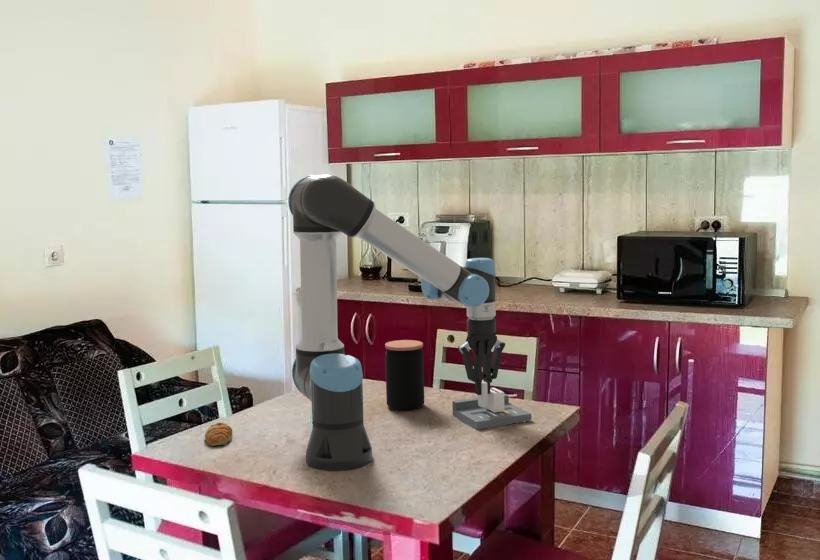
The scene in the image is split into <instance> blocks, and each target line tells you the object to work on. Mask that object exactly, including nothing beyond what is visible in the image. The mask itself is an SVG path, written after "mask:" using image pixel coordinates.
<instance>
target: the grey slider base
mask: <svg viewBox="0 0 820 560" xmlns="http://www.w3.org/2000/svg"><path fill="white" fill-rule="evenodd" d="M509 397H510V396H509V395H508V394H506V393H504V411H501V412H493V411H491V410H489V409H487V408H482V407H480V406H478V397H474V398H473V397H472V398H465V399H456V400H452V416H453V417H454V418H456V419H458V420H459V421H461V422H463V423H464V424H466V425H468V426H470V427H471V428H473V429H475V430H476V431H477V430H482V429H483V430H484V429H489V428H496V427H502V425H503V426H507V425H506V424H510V425H512V424H511V423H516V424H520V423H519V422H523V423H525V422H524V421H529V422H531V421H532V413H531V412H528V411H526V410H524V409H522V408H520V407H519V406H516V405H515V404H513V403H510V402H509V401H510V400H509ZM530 420H531V421H530Z"/></svg>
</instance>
